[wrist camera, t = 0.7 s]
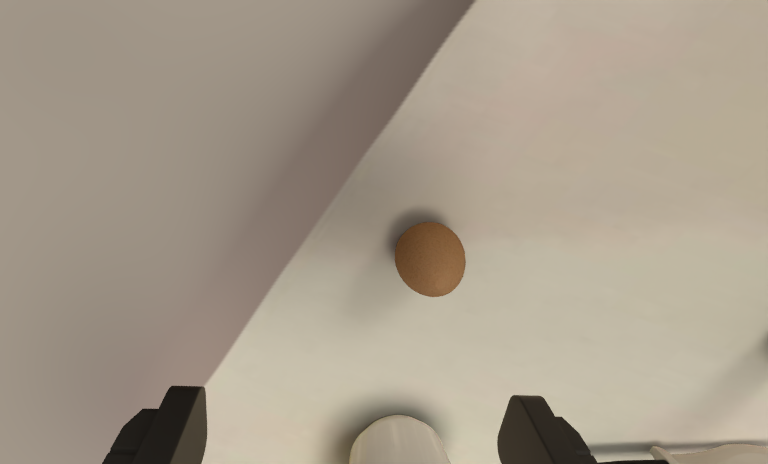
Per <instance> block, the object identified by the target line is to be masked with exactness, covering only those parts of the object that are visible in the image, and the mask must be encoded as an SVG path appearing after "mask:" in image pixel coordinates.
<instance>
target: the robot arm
mask: <svg viewBox="0 0 768 464" xmlns="http://www.w3.org/2000/svg"><path fill="white" fill-rule="evenodd" d="M206 441H207V414H206V393H205V388H204V387H197V386H196V387H195V386H171V387H170V388H169V390H168V391H167V393H166V395H165V397H164V399H163V401H162V403H161V405H160V407H159V409H142V410H141V411H140V412H139V413H138V414H137V415H136V416H134V417H133V418H132V419H131V420H130V421H129V422H128V423H127V424H126V425H124V426H123V428H122V429H121V431H120V433H119V435H118V437H117V438H116V440H115V442H114V444H113V446H112V447H111V451H110V453H108V454H107V456H106V458H105V459H104V462H103V463H102V464H201V462H202V459H203V456H204V452H205V447H206ZM497 443H498V453H499V458H500V461H501V463H502V464H598V463H597V461H596V460H595V458H594V457H593V456H591V454H590V450H589V449H588V447H587V445H586V444H585V442H584V441H583V439H582V437H581V436H580V434H579V433H578V432H577V431H576V430H575V429H574V428H573V427H572V426H571V425H570V424H569V423H568V422H566V421H565V420H564V419H563V418H562V417H555V416H554V414H553V412H552V411H551V409H550V407H549V406H548V404H547V402H546V401H545V399H544V398H543V397H541V396H523V395H514V396H512V397H511V398H510V401H509V403H508V407H507V410H506V413H505V416H504V419H503V422H502V425H501V428H500V431H499V434H498V442H497Z"/></svg>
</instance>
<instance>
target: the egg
mask: <svg viewBox="0 0 768 464" xmlns="http://www.w3.org/2000/svg"><path fill="white" fill-rule="evenodd" d="M395 263H396V267H397V270H398V272H399V274H400V277H401V278H402V279H403V281H404V282H405V283H406V284H407V285H408V286H409V287H410V288H411V289H413V290H414V291H416V292H418V293H420V294H422V295H425V296H430V297H439V296H443V295H446V294H448V293H450V292H451V291H453V290H454V289H455V288H456V287H457V286H458V284H459V283H460V281H461V279H462V277H463V274H464V270H465V263H466V261H465V252H464V248H463V246H462V244H461V241H460V240H459V238H458V237H457V235H456V234H455V233H454V232H453V231H452V230H450V229H449V228H447V227H446V226H444V225H442V224H439V223H433V222H424V223H420V224H417V225H414V226H412V227H411V228H409V229H408V230H407V231H406V232H405V233H404V234H403V235H402V236H401V238H400V239H399V241H398V243H397V246H396V250H395Z"/></svg>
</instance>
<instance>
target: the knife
mask: <svg viewBox="0 0 768 464" xmlns="http://www.w3.org/2000/svg"><path fill="white" fill-rule="evenodd" d="M650 453H651V455H652V456H653V457H654V459H655V460H630V461H613V462H603V463H598V464H768V448H766V447H761V446H756V445H749V444H727V445H723V446H720V447H717V448H714V449H711V450H707V451H703V452H697V453H689V454H674V455H671V454H670V453H668V452H667V451H666V450H664V449H662V448H660V447H657V446H653V447H652V448H651V450H650Z"/></svg>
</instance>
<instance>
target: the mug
mask: <svg viewBox="0 0 768 464" xmlns="http://www.w3.org/2000/svg"><path fill="white" fill-rule="evenodd" d="M349 464H450V461H449V459H448V457H447V455H446V452H445V450H444V448H443V445H442V443H441V441H440V439H439V437H438V435H437V434H436V432H435V431H434V430H433V429H432V428H431V427H430V426H428V425H427V424H425V423H423V422H421V421H419V420H417V419H415V418H412V417H410V416H405V415H391V416H387V417H384V418H381V419H379V420H377V421H375V422H373V423H372V424H371V425H370V426H369V427H368V428H366V429H365V430H364V431H363V432H362V433H361V434H360V435H359V436H358V437H357V439H356V440H355V442H354V444H353V446H352V449H351V454H350V461H349Z"/></svg>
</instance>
